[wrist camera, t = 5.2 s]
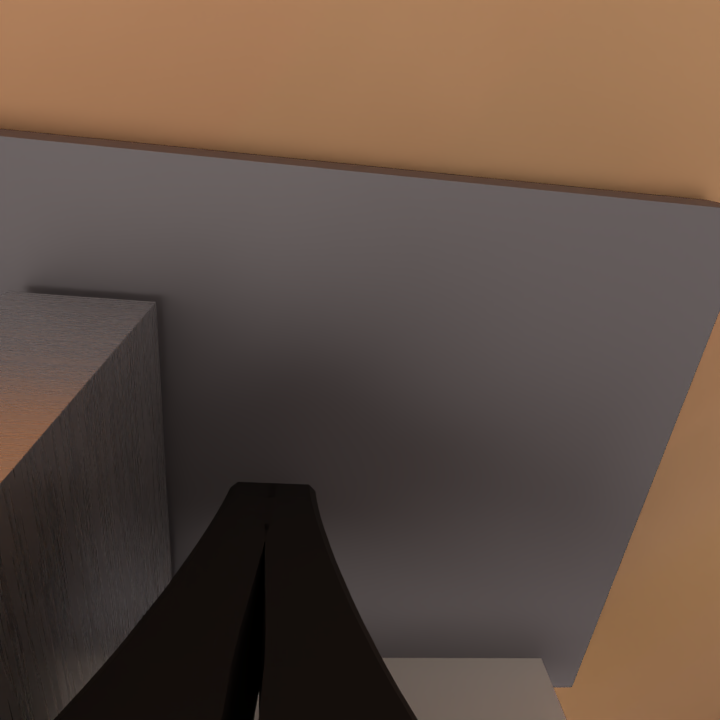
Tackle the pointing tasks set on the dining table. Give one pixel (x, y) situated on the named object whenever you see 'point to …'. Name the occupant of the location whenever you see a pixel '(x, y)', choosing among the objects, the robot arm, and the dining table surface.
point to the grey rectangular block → (76, 491)
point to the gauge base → (398, 375)
